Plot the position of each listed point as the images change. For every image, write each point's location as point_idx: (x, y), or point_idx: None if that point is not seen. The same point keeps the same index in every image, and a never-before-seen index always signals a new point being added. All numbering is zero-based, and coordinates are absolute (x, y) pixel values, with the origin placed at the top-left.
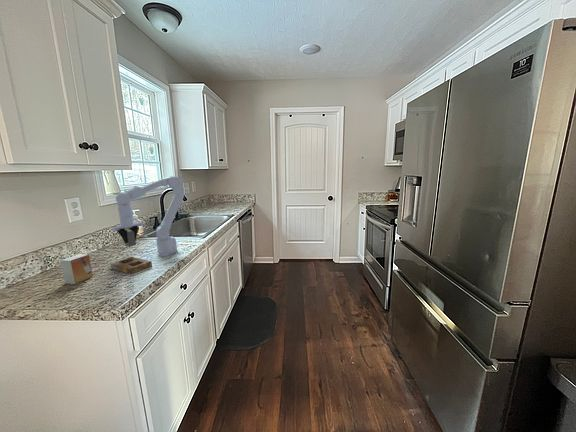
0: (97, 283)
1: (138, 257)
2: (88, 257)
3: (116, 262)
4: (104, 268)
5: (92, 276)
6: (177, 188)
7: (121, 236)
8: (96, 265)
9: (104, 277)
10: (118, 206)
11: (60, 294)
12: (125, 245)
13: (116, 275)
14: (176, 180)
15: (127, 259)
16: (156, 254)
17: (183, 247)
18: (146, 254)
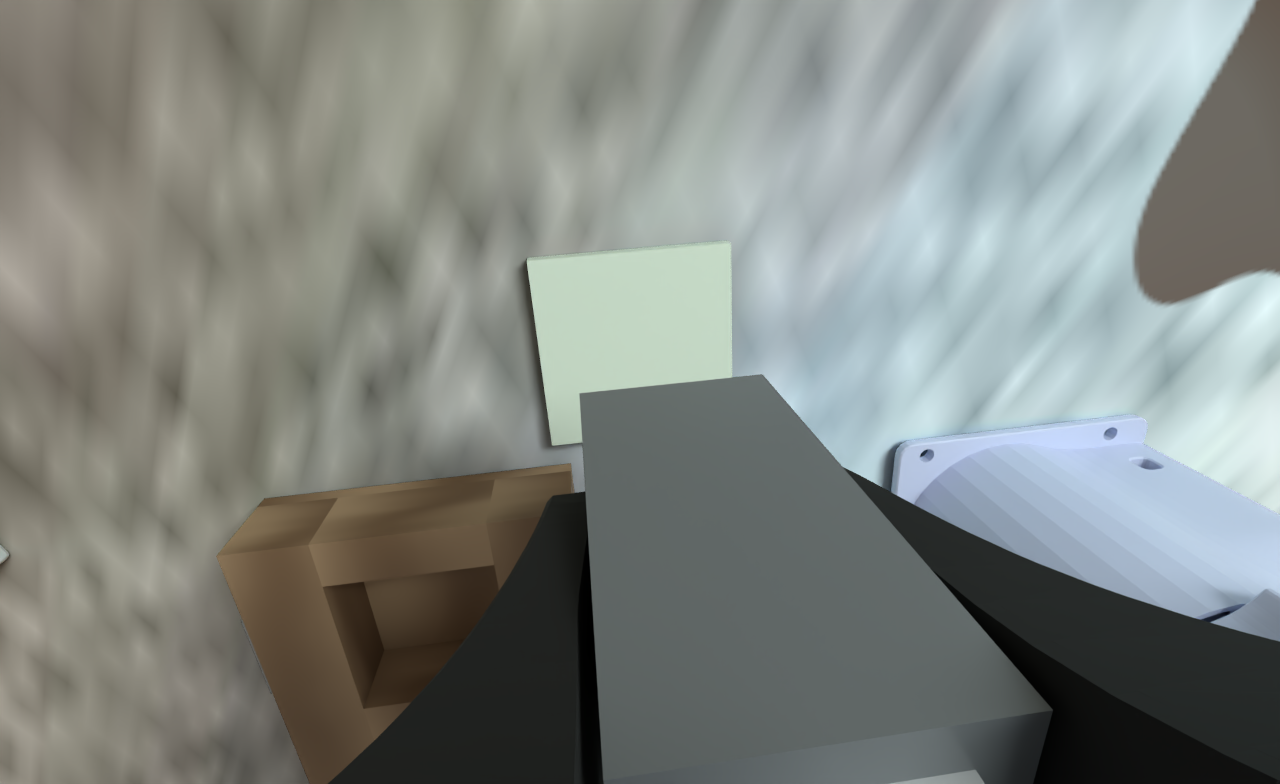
0: (56, 780)
1: (709, 377)
2: None
3: (302, 586)
4: (191, 363)
5: (5, 559)
6: None
7: (470, 648)
8: (88, 34)
9: (141, 686)
10: None
11: None
12: (580, 411)
13: (264, 726)
14: None
15: (477, 564)
16: (900, 490)
17: (1269, 474)
18: (880, 285)
